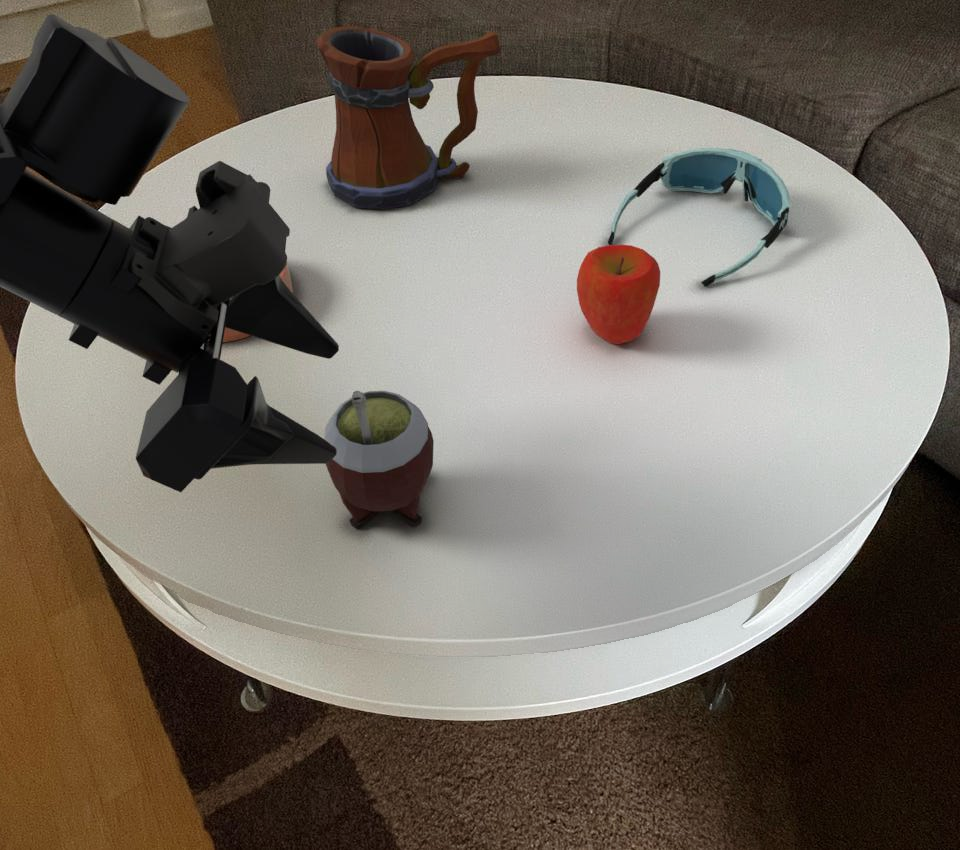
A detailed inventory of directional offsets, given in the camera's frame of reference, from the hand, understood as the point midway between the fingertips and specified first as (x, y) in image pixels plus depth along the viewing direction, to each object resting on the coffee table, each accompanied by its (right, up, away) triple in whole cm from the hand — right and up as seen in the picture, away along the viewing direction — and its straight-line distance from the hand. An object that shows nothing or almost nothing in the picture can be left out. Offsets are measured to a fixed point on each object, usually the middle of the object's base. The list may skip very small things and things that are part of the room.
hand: (334, 401), depth 55 cm
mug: (+2, +23, +38) cm, 45 cm away
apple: (+20, +6, +19) cm, 28 cm away
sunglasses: (+29, +16, +29) cm, 45 cm away
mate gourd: (+3, -7, +7) cm, 10 cm away
